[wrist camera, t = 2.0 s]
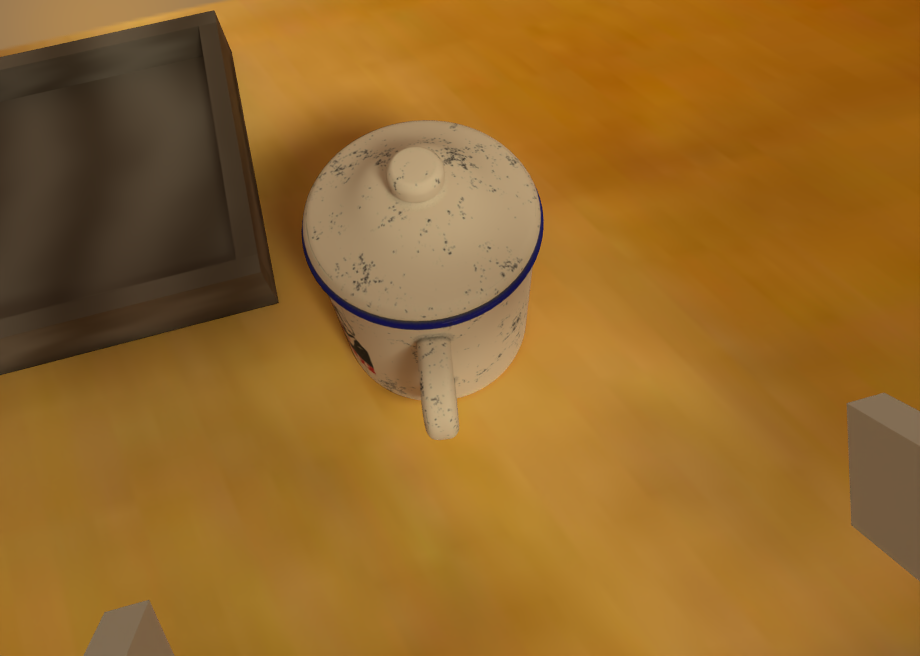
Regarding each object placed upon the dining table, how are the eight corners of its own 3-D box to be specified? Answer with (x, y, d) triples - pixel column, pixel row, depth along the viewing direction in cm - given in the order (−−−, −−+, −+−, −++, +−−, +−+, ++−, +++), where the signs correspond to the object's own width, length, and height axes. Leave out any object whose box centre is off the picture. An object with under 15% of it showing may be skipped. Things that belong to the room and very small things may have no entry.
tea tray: (-97, 400, 33) (-149, 376, 30) (-74, 121, 40) (-114, 82, 38) (278, 303, 34) (260, 272, 32) (231, 52, 42) (214, 10, 39)
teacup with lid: (342, 250, 36) (281, 77, 25) (517, 233, 36) (530, 54, 25) (346, 481, 30) (272, 385, 20) (552, 461, 30) (587, 354, 20)
